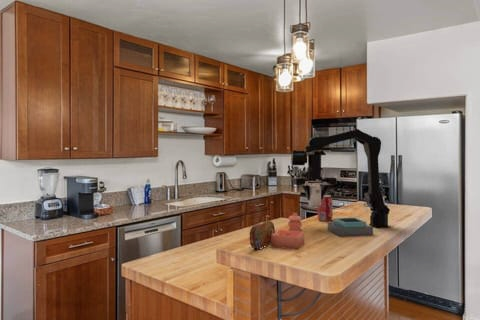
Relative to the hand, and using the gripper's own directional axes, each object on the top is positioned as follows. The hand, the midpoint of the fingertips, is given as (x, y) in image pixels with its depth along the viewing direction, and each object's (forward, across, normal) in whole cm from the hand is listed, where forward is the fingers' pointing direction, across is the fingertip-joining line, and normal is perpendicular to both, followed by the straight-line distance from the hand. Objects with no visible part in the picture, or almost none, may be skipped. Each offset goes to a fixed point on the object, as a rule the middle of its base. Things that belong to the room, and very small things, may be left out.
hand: (314, 200), depth 149 cm
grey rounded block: (+2, 0, 0) cm, 2 cm away
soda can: (+12, -10, -13) cm, 20 cm away
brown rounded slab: (+12, +30, +27) cm, 42 cm away
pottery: (+12, +18, +23) cm, 31 cm away
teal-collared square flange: (+12, -10, +13) cm, 20 cm away
